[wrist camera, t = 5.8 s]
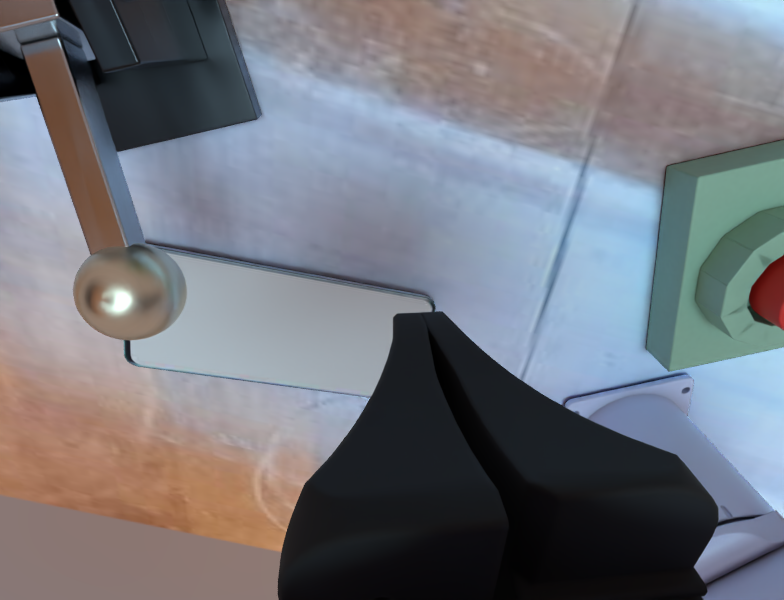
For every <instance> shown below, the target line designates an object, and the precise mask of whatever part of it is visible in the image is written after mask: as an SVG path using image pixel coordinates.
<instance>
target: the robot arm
mask: <svg viewBox="0 0 784 600" xmlns="http://www.w3.org/2000/svg"><path fill="white" fill-rule="evenodd" d="M693 386H694V379H693V378H692V377H691V376H690V375H680V376H676V377H671V378H666V379H662V380H657V381H652V382H648V383H643V384H639V385H634V386H629V387H625V388H620V389H615V390H611V391H606V392H601V393H597V394H592V395H587V396H583V397H578V398H573V399H570V400H568V401H567V402H566V404H565V407H564V406H562V405H560V404H558V403H557V402H555V401H553V400H551V399H549V398H548V397H546V396H544V395H543V394H541V393H539V392H538V391H536V390H535V389H533V388H532V387H530V386H529V385H527V384H526V383H524V382H523V381H521V380H520V379H518V378H517V377H515V376H514V375H513V374H511V373H510V372H509V371H507V370H506V369H505V368H504V367H502V366H501V365H500V364H498V363H497V362H496V361H495V360H493V359H492V358H491V357H490V356H489V355H487V354H486V353H485V352H484V351H483V350H482V349H481V348H479V347H478V346H477V345H476V344H475V343H474V342H473V341H472V340H471V339H470V338H469V337H468V336H467V335H465V334H464V333H463V332H462V331H461V330H460V329H459V328H458V327H457V326H456V325H455V324H454V323H453V322H452V321H451V320H450V319H449V318H448V317H447V316H446V315H445V314H444V313H443V312H418V313H397V314H396V315H395V316H394V317H393V339H392V344H391V347H390V351H389V355H388V358H387V361H386V364H385V366H384V369H383V371H382V374H381V377H380V379H379V381H378V383H377V386H376V388H375V390H374V392H373V394H372V396H371V398H370V400H369V401H368V403H367V405H366V407H365V408H364V410H363V412H362V413H361V415H360V417H359V418H358V420H357V421H356V423H355V424H354V426H353V427H352V429H351V430H350V432H349V433H348V434H347V436H346V437H345V438H344V439H343V441H342V442H341V443H340V445H339V446H338V447H337V449H336V450H335V451H334V453H333V454H332V455H331V456H330V457H329V458H328V460H327V461H326V462H325V463H324V464H323V465H322V466H321V467H320V468H319V469H318V470H317V471H316V472H315V474H314V475H313V476H312V477H311V478H310V479H309V480H308V481H307V482H306V483H305V485H304V487H303V489H302V491H301V494H300V496H299V499H298V501H297V504H296V506H295V509H294V511H293V514H292V517H291V520H290V523H289V526H288V529H287V532H286V536H285V540H284V544H283V548H282V553H281V560H280V569H279V578H278V598H279V600H784V518H783V517H782V516H781V515H780V514H779V513H778V512H777V511H775V510H774V509H773V508H772V507H771V506H770V505H769V504H768V503H767V502H766V501H765V500H764V499H763V497H762V496H761V495H760V494H759V493H758V492H757V491H756V490H755V489H754V488H753V487H752V486H751V485H750V483H749V482H748V481H747V480H746V479H745V478H744V477H743V476H742V475H741V474H740V473H739V472H738V471H737V469H736V468H735V467H734V466H733V465H732V464H731V463H730V462H729V461H728V460H727V459H726V458H725V457H724V455H723V454H722V453H721V452H720V451H719V450H718V449H717V448H716V447H715V446H714V445H713V444H712V443H711V441H710V440H709V439H708V438H707V437H706V436H705V435H704V434H703V433H702V432H701V431H700V430H699V429H698V427H697V426H696V425H695V424H694V423H693V422H692V421H691V420H690V419H689V418H688V412H689V407H690V402H691V397H692V391H693ZM574 411H575V412H574Z"/></svg>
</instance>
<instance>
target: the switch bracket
mask: <svg viewBox="0 0 784 600" xmlns="http://www.w3.org/2000/svg"><path fill="white" fill-rule="evenodd" d="M68 1H69V4H70V6H71V8H72V10H73V12H74V14H75V16H76V18H77V20H78V22H79V24H80V27H81V29H82V31H83V33H84V35H85V37H86V39H87V41H88V43H89V45H90V47H91V50H92V52H93V54H94V56H95V58H96V59H93V60H89V61H88V64H89V67H90V70H91V73H92V76H93V79H94V82H95V85H96V89H97V92H98V95H99V98H100V101H101V104H102V107H103V111H104V114H105V117H106V120H107V123H108V126H109V129H110V132H111V136H112V139H113V142H114V145H115V148H116V151H117V152H119V151H123V150H127V149H132V148H136V147H140V146H145V145H149V144H153V143H158V142H162V141H166V140H170V139H175V138H179V137H183V136H188V135H192V134H196V133H201V132H205V131H209V130H213V129H218V128H222V127H226V126H231V125H235V124H239V123H244V122H248V121H252V120H256V119H258V118H259V117H260V116H261V115H262V113H261V110H260V107H259V104H258V101H257V98H256V95H255V92H254V89H253V86H252V83H251V80H250V77H249V74H248V71H247V68H246V65H245V62H244V58H243V55H242V52H241V49H240V46H239V43H238V40H237V37H236V34H235V31H234V28H233V25H232V22H231V19H230V16H229V13H228V10H227V7H226V4H225V1H224V0H68ZM30 97H36V94H35V91H34V88H33V85H32V82H31V79H30V76H29V73H28V70H27V67H26V64H25V62H24V60H22V59H20V58H17V57H15V56H13V55H11V54H9V53H6V52H4V51H2V50H0V102H4V101H11V100H17V99H24V98H30Z"/></svg>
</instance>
